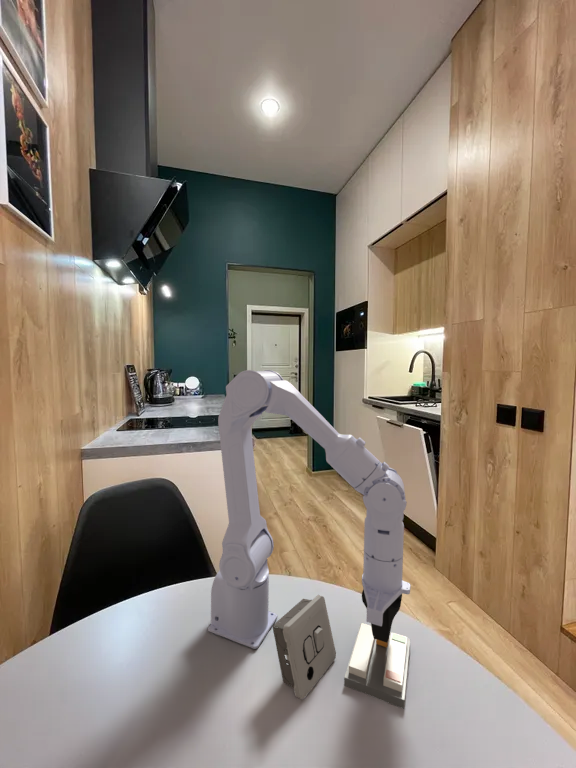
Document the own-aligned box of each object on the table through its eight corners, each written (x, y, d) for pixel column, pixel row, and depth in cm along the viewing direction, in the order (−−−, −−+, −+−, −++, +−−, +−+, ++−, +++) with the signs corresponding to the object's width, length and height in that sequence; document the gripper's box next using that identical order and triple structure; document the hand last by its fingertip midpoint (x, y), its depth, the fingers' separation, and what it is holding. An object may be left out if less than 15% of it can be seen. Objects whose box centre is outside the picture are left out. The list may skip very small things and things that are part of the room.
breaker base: (344, 685, 48) (344, 669, 48) (360, 630, 58) (360, 617, 58) (404, 708, 45) (404, 692, 45) (410, 646, 55) (410, 632, 55)
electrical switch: (301, 705, 45) (296, 634, 45) (271, 685, 48) (267, 619, 48) (337, 658, 52) (333, 597, 53) (309, 644, 56) (306, 587, 56)
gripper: (407, 586, 43) (404, 689, 44) (414, 535, 56) (411, 615, 57) (352, 572, 46) (349, 668, 47) (371, 527, 59) (369, 602, 60)
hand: (380, 638), depth 52 cm, fingers closed
